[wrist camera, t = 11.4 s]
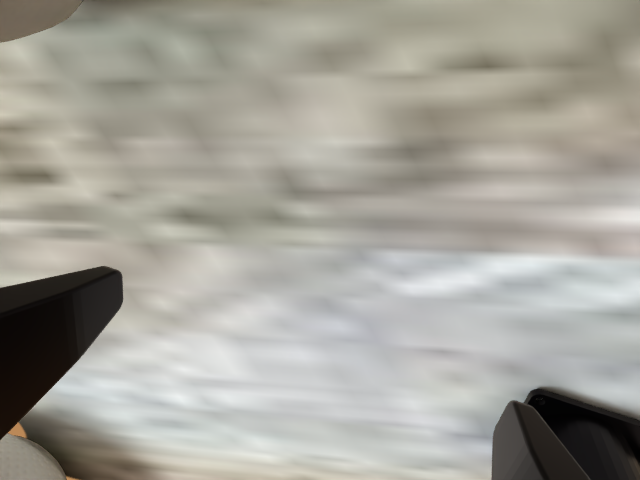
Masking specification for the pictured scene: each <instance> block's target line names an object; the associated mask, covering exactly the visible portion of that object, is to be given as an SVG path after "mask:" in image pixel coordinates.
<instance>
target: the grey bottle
mask: <svg viewBox="0 0 640 480" xmlns="http://www.w3.org/2000/svg"><path fill="white" fill-rule="evenodd" d="M82 1H83V0H0V42H6V41H11V40H14V39H18V38H22V37H25V36H28V35H31V34H34V33H37V32H40V31H43V30H46V29H48V28H51V27H53V26H55V25H57V24H59V23H61V22H62V21H64V20H66V19H67V18H69V17H70V16H71V15H72V14H73V13H74V11H75V10H76V9H77V8H78V6H79V5H80V4H81V3H82Z"/></svg>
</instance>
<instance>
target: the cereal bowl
mask: <svg viewBox="0 0 640 480" xmlns="http://www.w3.org/2000/svg"><path fill="white" fill-rule="evenodd" d="M0 480H67V479H66V476H65V473H64V471H63V469H62V467H61V466H60V464H59V463H58V462H57V460H56V459H55V458H54V457H53V456H52V455H51V454H50V453H49V452H48V451H47V450H45V449H44V448H43V447H41V446H40V445H38V444H37V443H35V442H33V441H31V440H29V439H26V438H24V437H20V436H13V435H11V434H8V433H7V434H6V435H5V436H4V437H3V438H2V439H1V440H0Z"/></svg>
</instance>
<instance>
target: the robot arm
mask: <svg viewBox="0 0 640 480" xmlns="http://www.w3.org/2000/svg"><path fill="white" fill-rule="evenodd" d="M122 302H123V281H122V274H121V272H120V271H118V270H116V269H113V268H110V267H106V266H101V267H96V268H92V269H87V270H82V271H77V272H73V273H68V274H63V275H59V276H54V277H49V278H45V279H40V280H35V281H31V282H26V283H21V284H17V285H12V286H7V287H3V288H0V440H1V439H2V438H3V437H4V436H5V435H6V434H7V433H8V432H9V431H10V430H11V429H12V428H13V427H14V426H15V425H16V424H17V423H18V422H19V421H20V420H21V419H22V418H23V417H24V416H25V415H26V414H27V413H28V412H29V410H30V409H31V408H32V407H33V406H34V405H35V404H36V403H37V402H38V401H39V400H40V399H41V398H42V397H43V396H44V395H45V394H46V393H47V392H48V391H49V390H50V389H51V388H52V387H53V386H54V385H55V384H56V383H57V382H58V381H59V380H60V379H61V378H62V377H63V376H64V375H65V374H66V373H67V372H68V371H69V369H70V368H71V367H72V366H73V365H74V364H75V363H76V362H77V361H78V360H79V359H80V358H81V356H82V355H83V354H84V353H85V352H86V351H87V349H88V348H89V347H90V346H91V344H92V343H93V342H94V341H95V339H96V338H97V337H98V336H99V334H100V333H101V332H102V331H103V329H104V328H105V327H106V326H107V324H108V323H109V322H110V321H111V319H112V318H113V317H114V316H115V314H116V313H117V312H118V311H119V309H120V307H121V305H122ZM537 398H543V399H541V400H536V399H537ZM492 480H640V421H638V420H635V419H632V418H629V417H626V416H623V415H620V414H617V413H614V412H610V411H607V410H604V409H601V408H598V407H595V406H592V405H589V404H586V403H582V402H579V401H576V400H573V399H570V398H567V397H564V396H561V395H558V394H554V393H551V392H548V391H545V390H542V389H534V390H532V391H531V392H530V393H529V394H528V396H527V398H526V400H525V401H524V403H521V402H518V401H515V400H513V401H510V402H509V403H508V405H507V406H506V408H505V410H504V412H503V414H502V416H501V417H500V419H499V421H498V423H497V425H496V427H495V430H494V434H493V450H492Z"/></svg>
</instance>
